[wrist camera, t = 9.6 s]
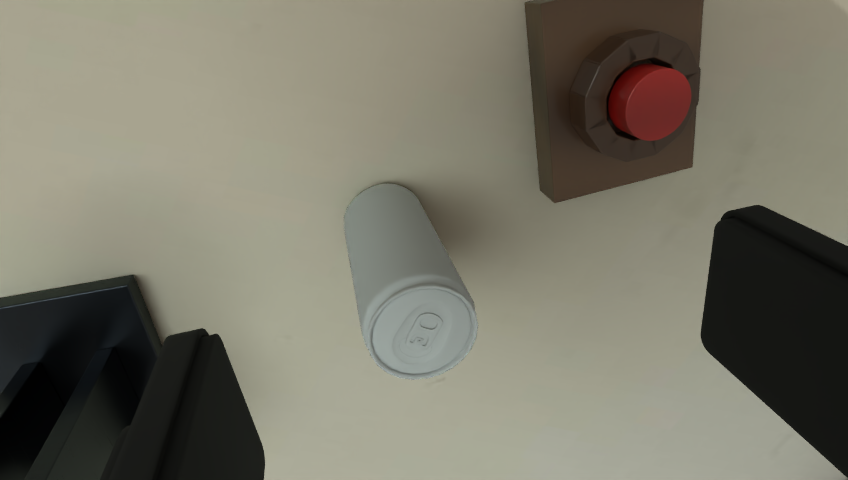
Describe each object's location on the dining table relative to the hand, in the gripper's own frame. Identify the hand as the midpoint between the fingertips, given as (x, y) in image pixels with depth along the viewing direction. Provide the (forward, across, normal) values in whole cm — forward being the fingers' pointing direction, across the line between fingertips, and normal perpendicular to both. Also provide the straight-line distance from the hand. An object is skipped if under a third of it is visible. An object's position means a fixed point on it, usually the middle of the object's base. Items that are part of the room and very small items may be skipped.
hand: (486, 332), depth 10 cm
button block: (+21, -14, +1) cm, 25 cm away
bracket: (+21, +20, +13) cm, 32 cm away
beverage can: (+22, 0, +7) cm, 23 cm away
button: (+18, -14, +1) cm, 23 cm away
